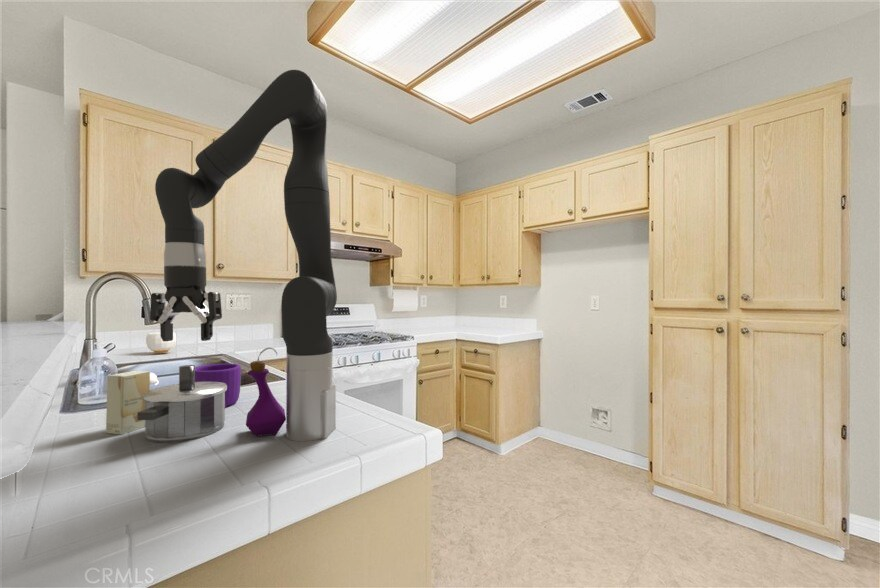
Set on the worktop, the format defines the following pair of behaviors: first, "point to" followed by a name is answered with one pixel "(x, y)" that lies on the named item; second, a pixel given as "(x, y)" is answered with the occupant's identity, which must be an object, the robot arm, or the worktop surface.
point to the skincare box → (126, 401)
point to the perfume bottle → (264, 404)
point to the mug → (222, 378)
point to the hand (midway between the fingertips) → (186, 340)
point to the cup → (159, 342)
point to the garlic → (153, 379)
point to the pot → (183, 419)
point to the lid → (185, 389)
